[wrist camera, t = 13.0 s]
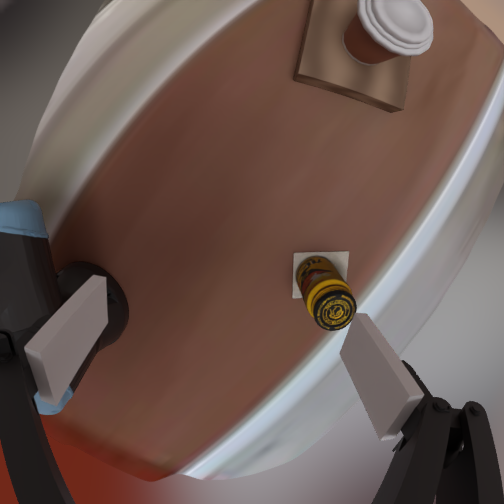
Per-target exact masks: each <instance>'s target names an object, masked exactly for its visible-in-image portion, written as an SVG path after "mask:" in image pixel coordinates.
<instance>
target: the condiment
mask: <svg viewBox="0 0 504 504" xmlns="http://www.w3.org/2000/svg"><path fill="white" fill-rule="evenodd" d="M348 257H349V251H345V252H305V253H294V263H293V297H292V298H303V300H304V302H305V305H306V308H307V310H308V312H309V313H310V315H311V316H312V317H313V318H314V319H315V321H316V323H317V324H318V325H319V326H320V327H321V328H323V329H326V330H329V331H335V330H340V329H343V328H344V327H346V326H347V325H348V324H349V323H350V322H351V321H352V319H353V316H354V314H355V313H356V309H357V305H356V301H355V299H354V297H353V296H352V292H351V289H350V287H349V286H348V284H347V283H346V277H347V267H348ZM332 263H334V264H332ZM335 265H336V266H335Z"/></svg>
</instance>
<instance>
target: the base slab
mask: <svg viewBox="0 0 504 504" xmlns="http://www.w3.org/2000/svg"><path fill="white" fill-rule="evenodd" d="M357 1H358V0H311V3H310V8H309V12H308V17H307V21H306V26H305V30H304V35H303V39H302V44H301V48H300V53H299V57H298V62H297V66H296V71H295V75H294V80H293V81H297V82H301V83H304V84H308V85H312V86H315V87H319V88H322V89H325V90H329V91H332V92H335V93H338V94H341V95H344V96H347V97H350V98H353V99H356V100H359V101H361V102H364V103H367V104H370V105H372V106H375V107H378V108H380V109H383V110H385V111H388V112H390V113H392V112H397V111H401V110H404V104H405V98H406V92H407V85H408V77H409V70H410V61H411V56H398V57H395V58H392V59H389V60H387V61H384V62H381V63H379V64H377V65H370V66H368V65H364V64H360V63H358V62H357V61H355V60H354V59H352V58H351V57H350V56H349V55H348V53H347V52H346V51H345V49H344V46H343V44H342V35H343V33H344V32H345V30H346V28H347V27H348V26H349V24H350V23H351V21H352V19H353V18H354V16H355V15H356V13H357Z"/></svg>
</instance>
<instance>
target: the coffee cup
mask: <svg viewBox="0 0 504 504" xmlns="http://www.w3.org/2000/svg"><path fill="white" fill-rule="evenodd" d="M432 40H433V21H432V18H431V16H430V14H429V12H428V9H427V8H426V7H425V6H424V5H423V3H422V2H421V1H420V0H358V1H357V13H356V15H355V16H354V18H353V19H352V21H351V23H350V24H349V26H348V27H347V28H346V30H345V32H344V33H343V35H342V44H343V46H344V49H345V51H346V52H347V53H348V55H349V56H350V57H351V58H352V59H354V60H355V61H357V62H358V63H360V64H364V65H368V66H370V65H377V64H379V63H381V62H384V61H387V60H389V59H392V58H395V57H398V56H418V55H420V54H422V53H423V52H425V51H426V50H428V49H429V47H430V45H431V42H432Z"/></svg>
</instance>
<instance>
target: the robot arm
mask: <svg viewBox="0 0 504 504" xmlns="http://www.w3.org/2000/svg"><path fill="white" fill-rule="evenodd" d="M48 238H49V235H48V233H47V232H46V228H45V224H44V220H43V215H42V211H41V208H40V206H39V205H38V204H37V203H36V202H35V201H33V200H18V201H12V202H11V201H10V202H3V203H0V440H1V445H2V448H3V453H4V457H5V461H6V465H7V468H8V472H9V475H10V479H11V481H12V485H13V488H14V491H15V494H16V497H17V500H18V502H19V504H75V502H74V500H73V498H72V496H71V494H70V492H69V490H68V488H67V486H66V484H65V481H64V479H63V477H62V475H61V472H60V470H59V468H58V465H57V463H56V461H55V458H54V456H53V453H52V450H51V448H50V445H49V443H48V439H47V437H46V434H45V431H44V428H43V425H42V422H41V418H40V415H39V414H44V415H53V414H56V413H58V412H60V411H61V410H62V409H63V407H64V406H65V404H66V403H67V401H68V400H69V399H71V398H72V396H73V393H74V392H75V390H76V388H77V386H78V385H79V383H80V381H81V379H82V377H83V376H84V374H85V372H86V371H87V369H88V367H89V365H90V364H91V362H92V360H93V359H94V357H95V355H96V354H97V352H99V351H100V350H102V349H103V348H105V347H106V346H108V345H110V344H112V343H114V342H115V341H116V340H117V339H118V338H119V337H120V336H121V334H122V333H123V331H124V329H125V327H126V325H127V322H128V317H129V310H128V304H127V300H126V297H125V295H124V293H123V291H122V289H121V288H120V286H119V285H118V283H117V282H116V281H115V280H114V278H113V277H112V276H111V275H109V274H108V273H107V272H106V271H104V270H103V269H101V268H100V267H98V266H96V265H93V264H90V263H86V262H74V263H71V264H69V265H67V266H65V267H64V268H63V269H61V270H60V271H59V272H58V273H57V274H56V273H55V269H54V265H53V261H52V256H51V252H50V247H49V242H48ZM340 356H341V358H342V360H343V362H344V364H345V366H346V368H347V370H348V372H349V374H350V377H351V379H352V381H353V383H354V385H355V387H356V389H357V392H358V394H359V396H360V398H361V400H362V402H363V404H364V406H365V409H366V411H367V413H368V415H369V418H370V420H371V422H372V424H373V426H374V429H375V431H376V433H377V435H378V438H379V440H380V441H383V440H389V439H394V438H395V437H396V436H397V434H398V433H399V431H400V430H401V431H402V433H403V435H404V436H403V437H402V439H401V440H400V441H399V442H398V444H397V445H396V446H395V448H394V449H393V450H392V451H393V452H394V451H395V450H396V452H395V454H394V457H393V459H392V462H391V464H390V467H389V469H388V471H387V473H386V475H385V478H384V480H383V482H382V484H381V486H380V488H379V490H378V492H377V494H376V496H375V498H374V500H373V502H372V504H433V502H434V498H435V495H436V504H504V495H503V488H502V481H501V475H500V469H499V464H498V459H497V454H496V449H495V445H494V441H493V437H492V433H491V429H490V425H489V421H488V418H487V414H486V411H485V409H484V408H483V407H482V406H481V405H480V404H479V403H477V402H474V401H469V402H467V403H466V404H465V405H464V407H463V408H462V409H454V408H452V407H451V406H450V404H449V403H448V402H447V401H446V400H444V399H442V398H439V397H433V396H432V395H431V394H430V392H429V391H428V389H427V388H426V386H425V385H424V383H423V382H422V381H421V380H420V378H419V376H418V375H416V372H415V371H414V370H413V368H412V367H411V366H410V365H409V364H408V363H406V362H405V361H404V360H402V361H401V360H400V359H399V357H398V356H397V354H396V353H395V352H394V350H393V349H392V347H391V346H390V345H389V343H388V342H387V340H386V339H385V338H384V336H383V335H382V334H381V332H380V331H379V330H378V328H377V327H376V325H375V324H374V323H373V321H372V320H371V319H370V317H369V316H368V315H367V314H363V313H355V314H354V316H353V319H352V322H351V325H350V328H349V330H348V333H347V336H346V338H345V341H344V343H343V346H342V349H341V351H340ZM463 445H464V447H463V450H462V446H463Z"/></svg>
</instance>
